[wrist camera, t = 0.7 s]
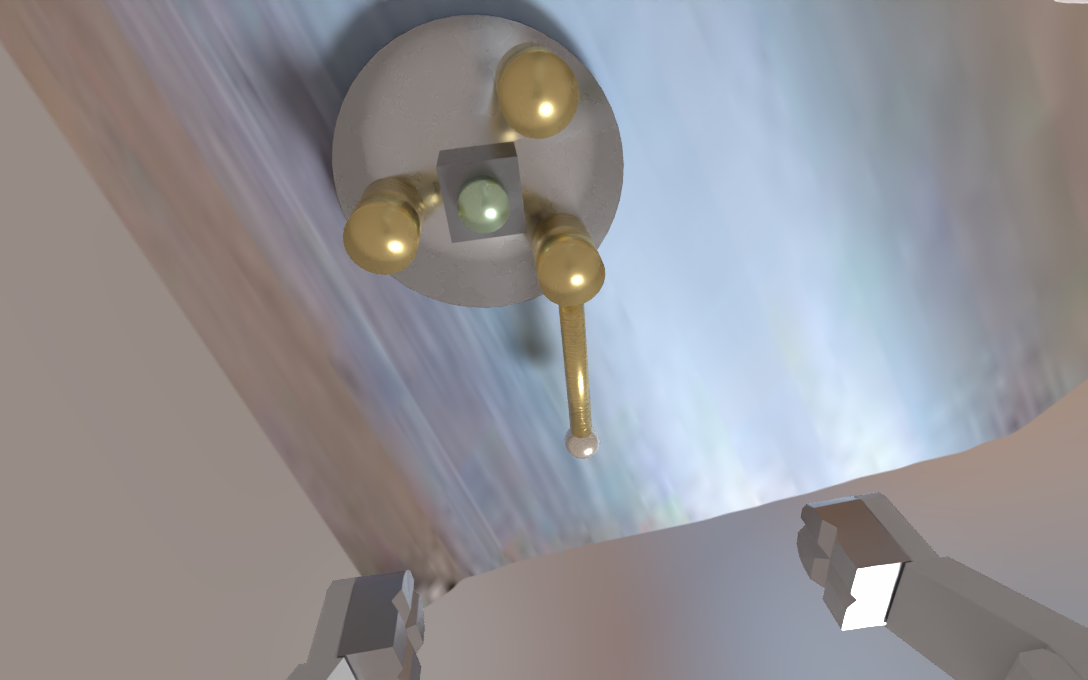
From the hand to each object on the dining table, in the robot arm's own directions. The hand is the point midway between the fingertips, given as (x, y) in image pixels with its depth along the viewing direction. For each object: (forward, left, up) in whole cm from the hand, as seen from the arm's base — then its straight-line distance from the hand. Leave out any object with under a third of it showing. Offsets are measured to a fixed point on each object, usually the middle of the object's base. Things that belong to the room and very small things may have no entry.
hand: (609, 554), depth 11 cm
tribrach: (+1, -2, -33) cm, 33 cm away
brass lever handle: (+14, +3, -31) cm, 34 cm away
